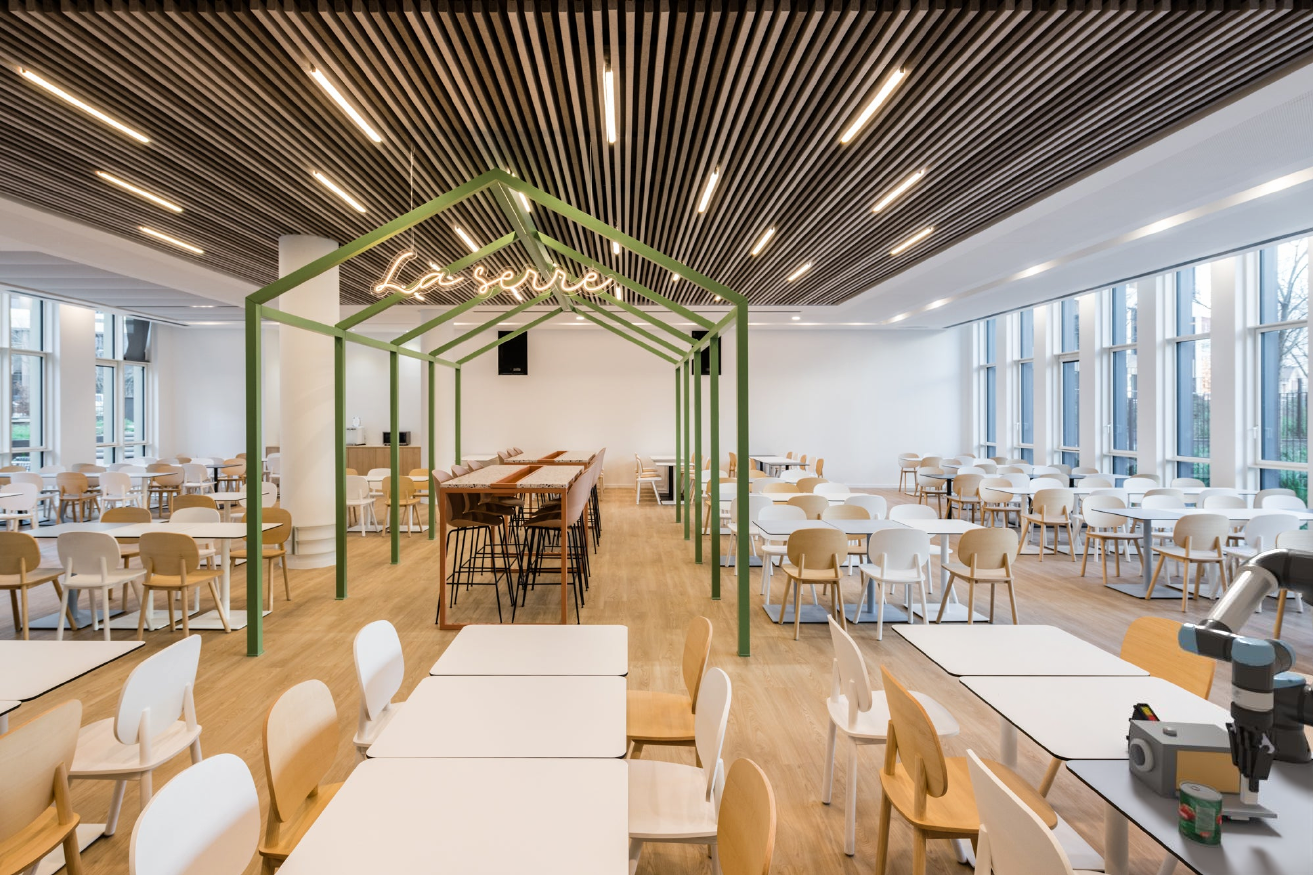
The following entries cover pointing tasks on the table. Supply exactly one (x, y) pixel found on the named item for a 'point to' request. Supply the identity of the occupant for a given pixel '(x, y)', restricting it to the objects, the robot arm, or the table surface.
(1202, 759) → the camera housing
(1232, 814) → the door
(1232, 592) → the robot arm
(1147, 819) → the table surface
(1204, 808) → the canned tomato
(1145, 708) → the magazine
